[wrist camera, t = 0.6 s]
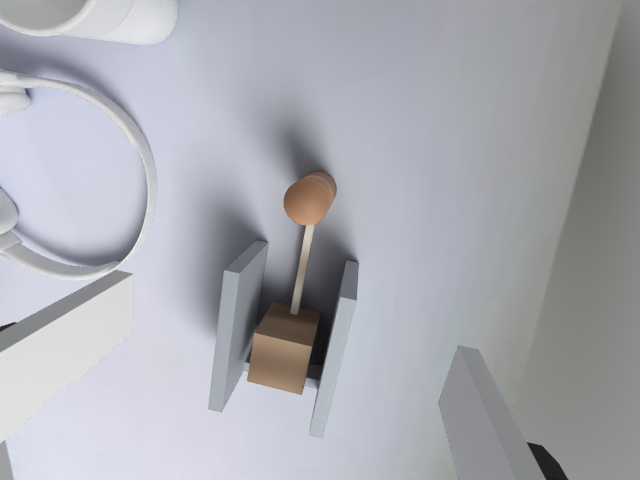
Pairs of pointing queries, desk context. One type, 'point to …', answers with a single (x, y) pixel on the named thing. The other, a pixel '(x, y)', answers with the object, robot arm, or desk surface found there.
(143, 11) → the cup
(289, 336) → the tethered block
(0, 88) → the headphones
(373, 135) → the desk surface
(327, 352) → the lane
